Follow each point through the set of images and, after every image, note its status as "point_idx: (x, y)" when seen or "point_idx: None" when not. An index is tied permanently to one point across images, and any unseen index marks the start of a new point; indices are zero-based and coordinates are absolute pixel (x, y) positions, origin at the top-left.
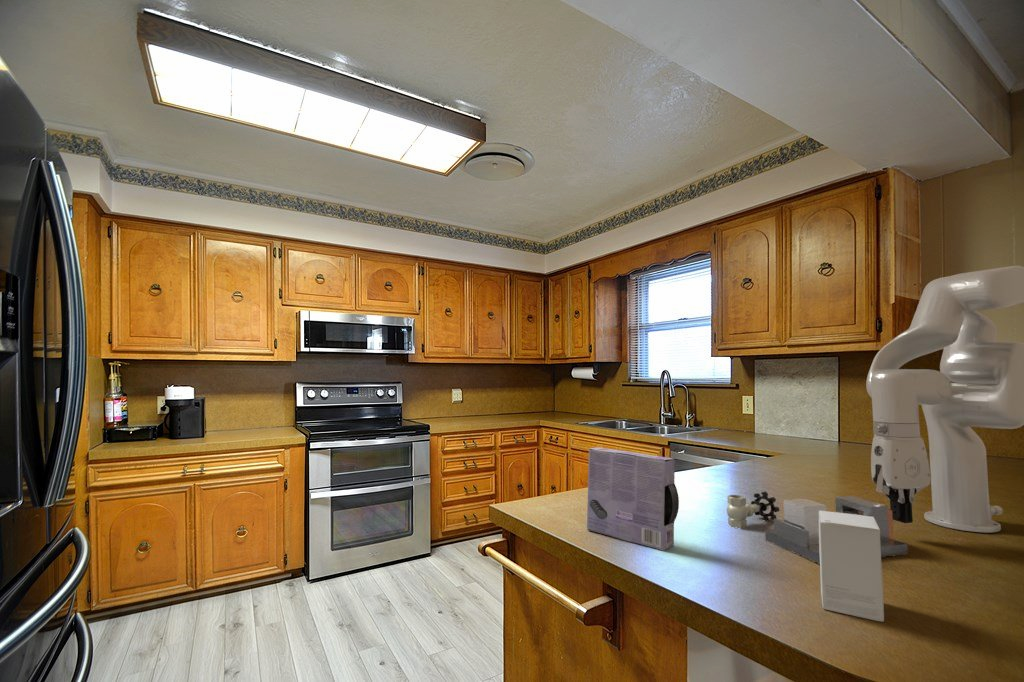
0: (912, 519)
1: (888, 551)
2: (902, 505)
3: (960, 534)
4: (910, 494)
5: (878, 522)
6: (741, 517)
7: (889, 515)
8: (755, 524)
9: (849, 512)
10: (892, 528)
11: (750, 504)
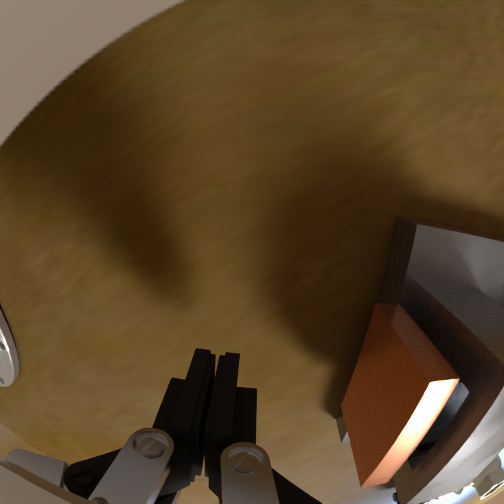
0: (194, 355)
1: (476, 233)
2: (231, 433)
3: (11, 283)
4: (150, 477)
5: (501, 323)
6: None
7: (436, 360)
8: None
9: None
10: (393, 322)
11: (463, 488)
